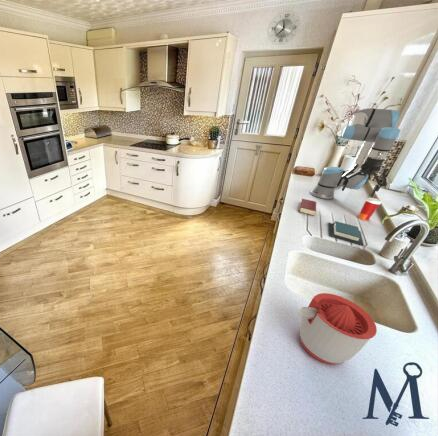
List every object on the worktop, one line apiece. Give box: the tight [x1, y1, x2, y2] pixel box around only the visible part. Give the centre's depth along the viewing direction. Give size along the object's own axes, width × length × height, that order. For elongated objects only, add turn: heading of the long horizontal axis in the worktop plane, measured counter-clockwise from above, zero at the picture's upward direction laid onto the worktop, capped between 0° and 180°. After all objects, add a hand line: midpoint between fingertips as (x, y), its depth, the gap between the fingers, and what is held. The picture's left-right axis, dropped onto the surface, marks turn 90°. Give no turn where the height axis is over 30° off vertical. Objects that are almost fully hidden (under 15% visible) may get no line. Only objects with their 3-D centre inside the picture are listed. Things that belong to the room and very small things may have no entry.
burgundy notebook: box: [298, 198, 317, 217], centre depth 165 cm, size 17×9×4 cm, turn 146°
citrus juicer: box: [298, 292, 378, 365], centre depth 72 cm, size 16×17×20 cm
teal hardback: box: [332, 220, 362, 242], centre depth 138 cm, size 14×12×3 cm
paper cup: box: [357, 197, 382, 221], centre depth 154 cm, size 8×8×14 cm
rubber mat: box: [328, 222, 364, 247], centre depth 139 cm, size 18×16×1 cm
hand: (356, 192), depth 138 cm, fingers open, 13 cm apart
